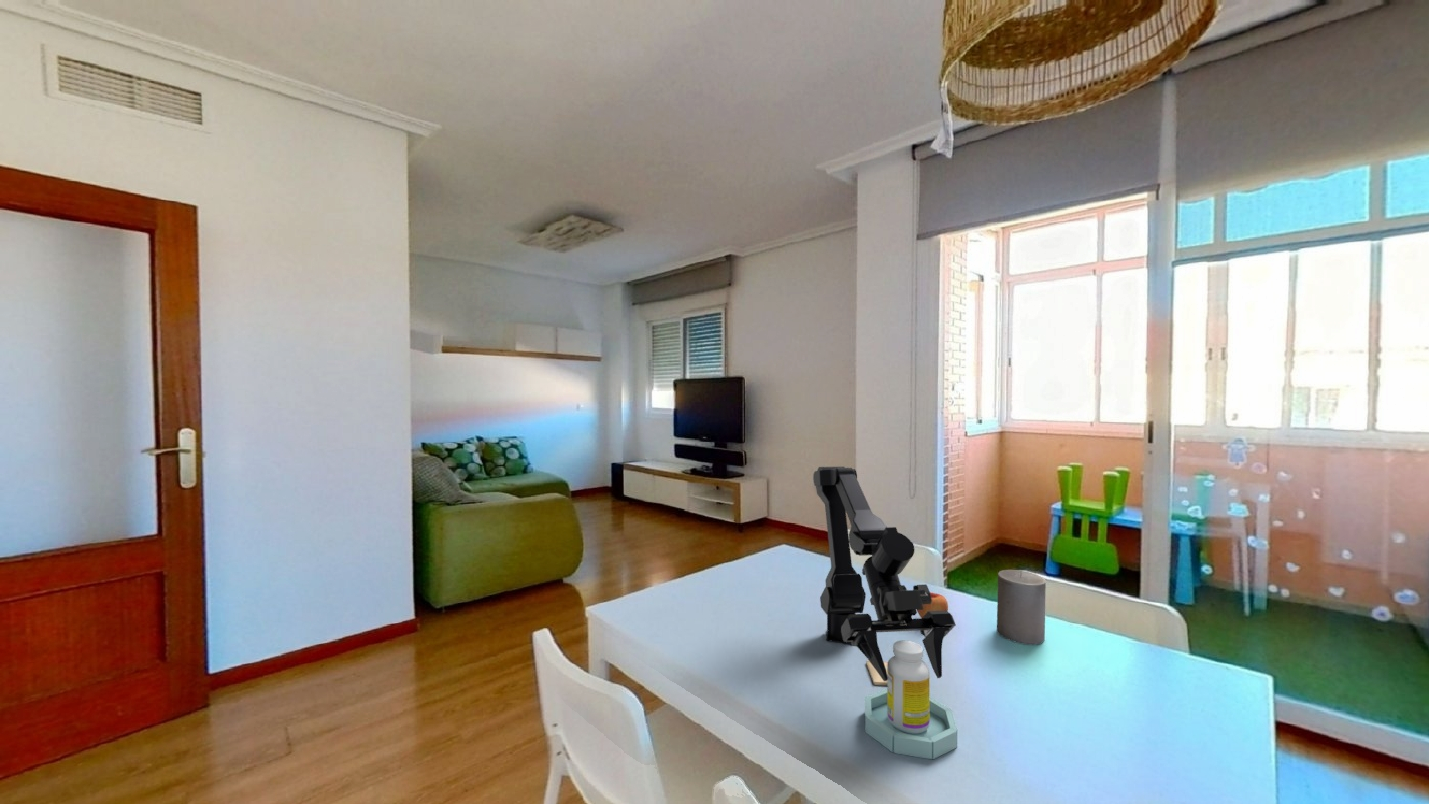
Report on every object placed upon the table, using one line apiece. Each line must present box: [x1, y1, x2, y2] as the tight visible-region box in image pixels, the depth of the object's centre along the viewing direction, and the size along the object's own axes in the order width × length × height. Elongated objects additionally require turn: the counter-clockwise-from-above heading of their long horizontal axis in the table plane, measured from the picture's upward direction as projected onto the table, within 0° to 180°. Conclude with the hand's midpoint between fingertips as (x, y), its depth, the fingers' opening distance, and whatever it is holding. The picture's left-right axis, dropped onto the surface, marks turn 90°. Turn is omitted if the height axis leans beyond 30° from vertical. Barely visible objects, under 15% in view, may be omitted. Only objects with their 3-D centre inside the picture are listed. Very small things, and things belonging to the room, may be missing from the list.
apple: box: [916, 591, 949, 619], centre depth 129 cm, size 7×7×8 cm
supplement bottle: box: [886, 640, 931, 734], centre depth 88 cm, size 7×7×13 cm
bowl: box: [864, 688, 958, 760], centre depth 88 cm, size 14×14×3 cm
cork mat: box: [865, 660, 888, 686], centre depth 105 cm, size 10×8×1 cm
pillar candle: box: [996, 569, 1047, 646], centre depth 122 cm, size 10×10×15 cm
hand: (913, 678), depth 87 cm, fingers open, 9 cm apart
